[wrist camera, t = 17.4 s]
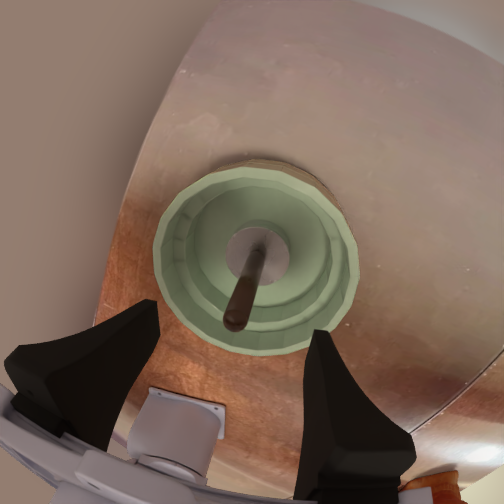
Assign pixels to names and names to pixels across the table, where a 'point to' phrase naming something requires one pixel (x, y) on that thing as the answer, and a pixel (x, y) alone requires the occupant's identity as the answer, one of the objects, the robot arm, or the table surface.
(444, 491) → the ceramic vessel
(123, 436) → the table surface
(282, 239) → the peg on round base
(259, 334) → the bowl
